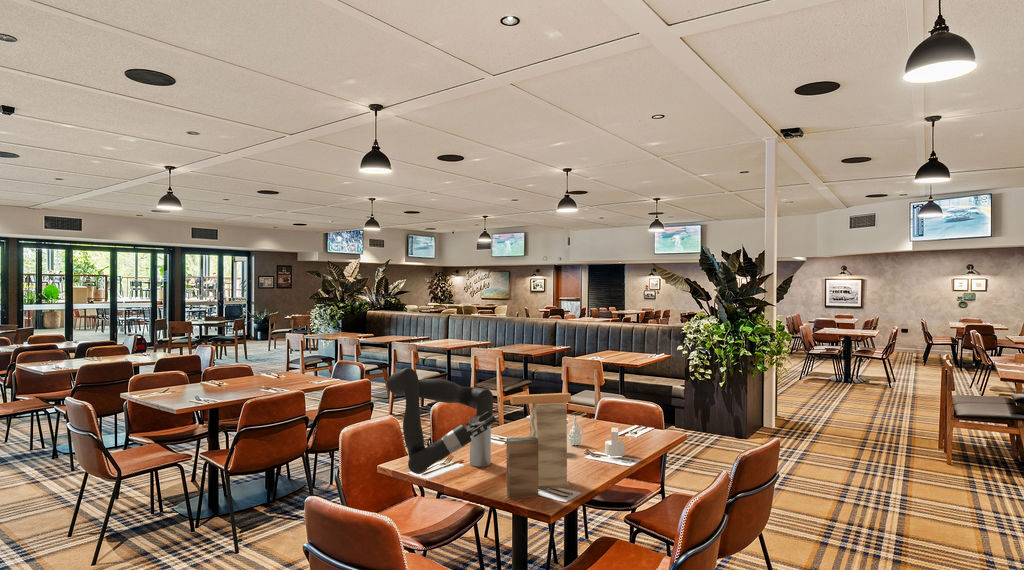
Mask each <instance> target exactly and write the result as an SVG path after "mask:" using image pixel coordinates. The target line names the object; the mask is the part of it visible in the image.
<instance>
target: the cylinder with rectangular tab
mask: <svg viewBox="0 0 1024 570" xmlns="http://www.w3.org/2000/svg"><path fill="white" fill-rule="evenodd" d="M610 432H611V433H610V438H611V439H610V440H606V441H604V455H605V454H607V455H610V456H624V455H625V456H626V454H625V453H626V451H625V450H626V449H625V447H626V443H625V442H624V441H622V440H619V427H611V430H610Z"/></svg>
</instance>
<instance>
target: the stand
mask: <svg viewBox="0 0 1024 570" xmlns="http://www.w3.org/2000/svg"><path fill="white" fill-rule="evenodd" d="M567 404H568V403H567V402H554V403H534V404H529V437H531V436H535V437H536V438H537V439H538V489H542V490H549V489H548V488H553V489H562V488H571V484H570V483H569V482H568V463H567V462H568V439H567V438H568V432H567V431H568V426H567V425H568V423H567V422H568V419H567V418H568V417H567V416H568V415H567V412H568V409H567V408H568V405H567Z"/></svg>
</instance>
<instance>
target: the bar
mask: <svg viewBox="0 0 1024 570" xmlns="http://www.w3.org/2000/svg"><path fill="white" fill-rule="evenodd" d="M571 394H572V393H569V392H558V393H556V392H555V393H540V394H539V393H537V394H534V393H533V394H514V395H510V397H509V398H510V401H509V402H510V404H511V405H512V406H515V405H530V404H534V403H554V402H565V403H567V402H569V403H571V402H572V395H571Z"/></svg>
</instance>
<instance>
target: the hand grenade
mask: <svg viewBox="0 0 1024 570" xmlns="http://www.w3.org/2000/svg"><path fill="white" fill-rule="evenodd" d="M577 422H580V423H581V421H580V420H577V417H576V416H574V417H573V425H572V427H571V428H570V429H569V433H568V441H569V444H570V445H572V444H573V445H578V446H579V445H580V444H581V441H584V440H585V439H584V429H583V428H582V426H581V425H578V424H577Z"/></svg>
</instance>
